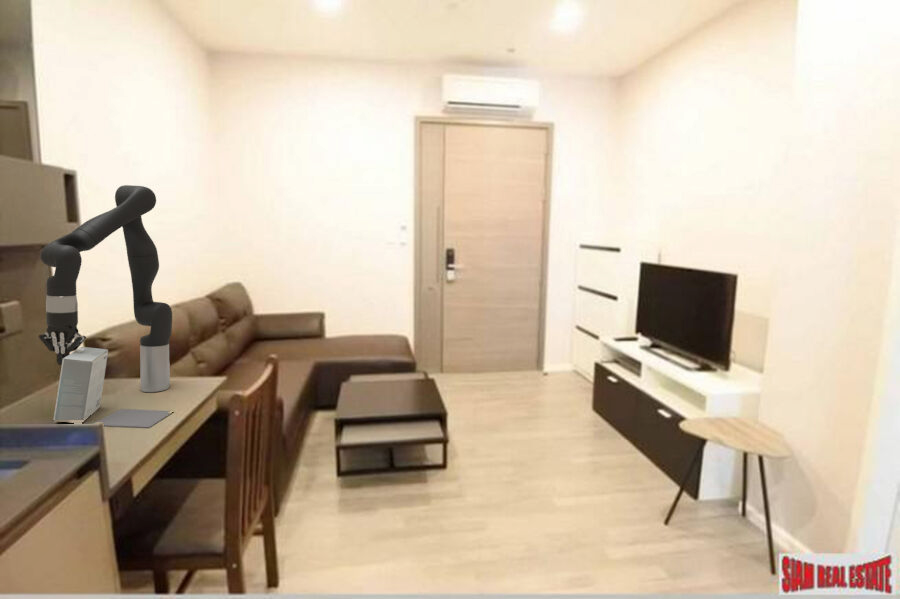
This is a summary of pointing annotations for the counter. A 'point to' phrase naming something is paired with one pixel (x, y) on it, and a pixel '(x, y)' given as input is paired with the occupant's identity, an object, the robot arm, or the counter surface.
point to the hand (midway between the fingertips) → (63, 364)
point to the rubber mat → (134, 418)
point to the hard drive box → (80, 384)
